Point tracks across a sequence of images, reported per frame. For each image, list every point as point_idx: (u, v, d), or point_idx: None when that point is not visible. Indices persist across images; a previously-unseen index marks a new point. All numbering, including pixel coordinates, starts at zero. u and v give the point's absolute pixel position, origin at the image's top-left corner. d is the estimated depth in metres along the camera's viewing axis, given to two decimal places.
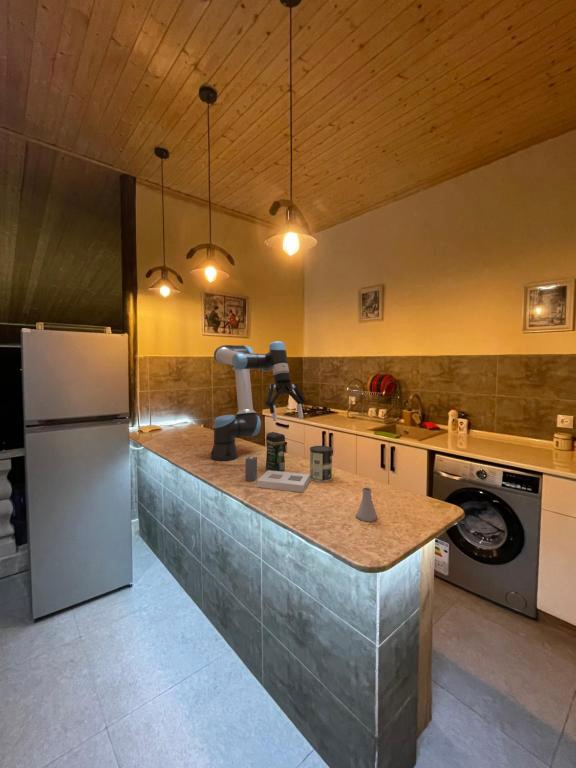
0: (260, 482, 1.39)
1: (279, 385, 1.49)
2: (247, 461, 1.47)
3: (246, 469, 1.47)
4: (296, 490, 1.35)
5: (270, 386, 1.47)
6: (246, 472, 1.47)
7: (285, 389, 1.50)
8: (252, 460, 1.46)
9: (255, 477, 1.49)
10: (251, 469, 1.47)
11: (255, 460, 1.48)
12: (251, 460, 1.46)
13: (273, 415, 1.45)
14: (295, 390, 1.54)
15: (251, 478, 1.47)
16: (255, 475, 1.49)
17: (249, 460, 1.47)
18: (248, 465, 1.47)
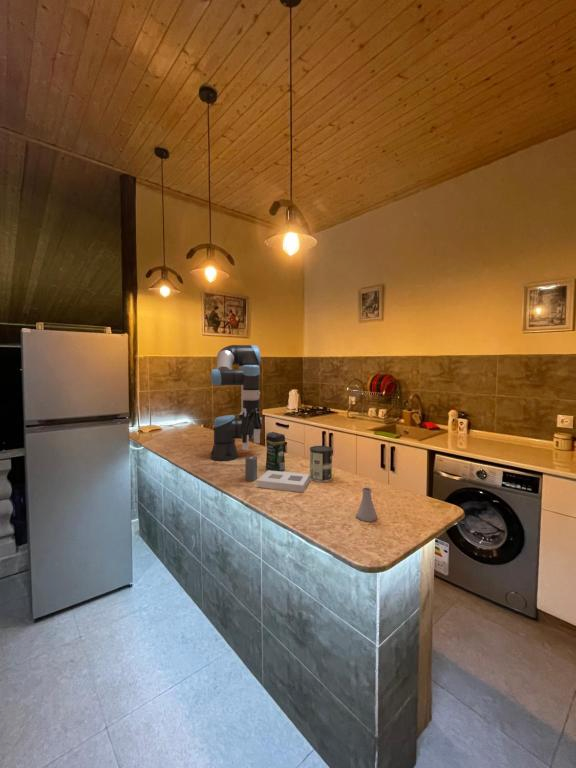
0: (260, 482, 1.39)
1: (251, 412, 1.44)
2: (247, 461, 1.47)
3: (246, 469, 1.47)
4: (296, 490, 1.35)
5: (246, 414, 1.40)
6: (246, 472, 1.47)
7: (253, 416, 1.47)
8: (252, 460, 1.46)
9: (255, 477, 1.49)
10: (251, 469, 1.47)
11: (255, 460, 1.48)
12: (251, 460, 1.46)
13: (244, 444, 1.41)
14: None
15: (251, 478, 1.47)
16: (255, 475, 1.49)
17: (249, 460, 1.47)
18: (248, 465, 1.47)
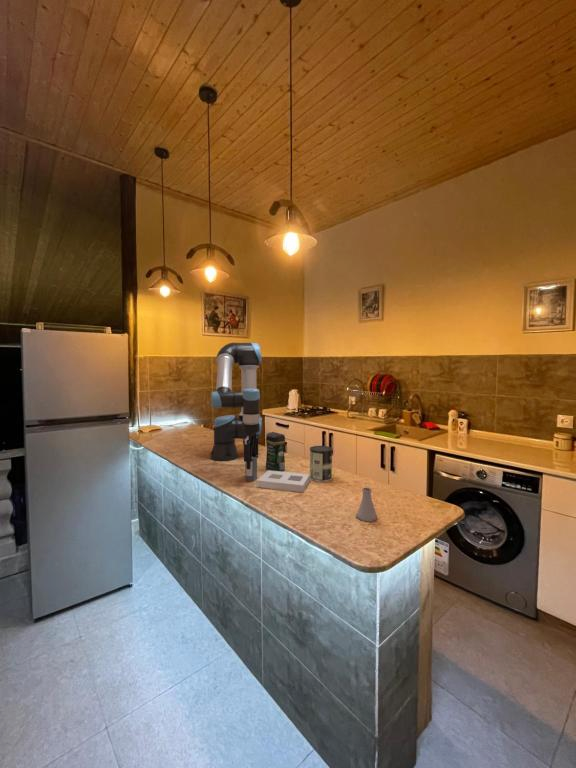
0: (260, 482, 1.39)
1: (251, 436, 1.45)
2: None
3: None
4: (296, 490, 1.35)
5: (246, 443, 1.42)
6: None
7: (253, 439, 1.48)
8: (252, 460, 1.46)
9: (255, 477, 1.49)
10: None
11: (255, 460, 1.48)
12: None
13: (248, 470, 1.46)
14: None
15: (251, 478, 1.47)
16: (255, 475, 1.49)
17: None
18: None
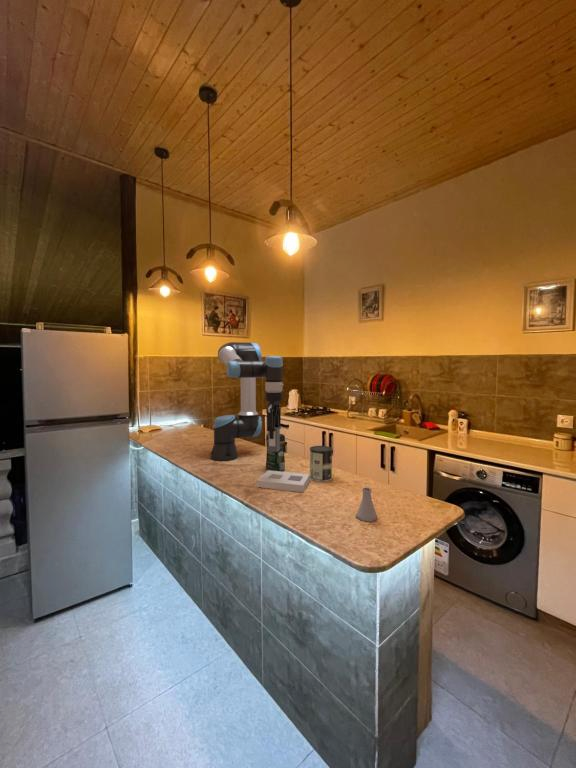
0: (260, 482, 1.39)
1: (274, 404, 1.40)
2: None
3: None
4: (296, 490, 1.35)
5: (270, 411, 1.37)
6: None
7: (276, 409, 1.43)
8: (275, 430, 1.41)
9: (278, 448, 1.43)
10: None
11: (278, 430, 1.43)
12: None
13: (271, 440, 1.41)
14: None
15: (274, 449, 1.42)
16: (278, 445, 1.43)
17: None
18: None
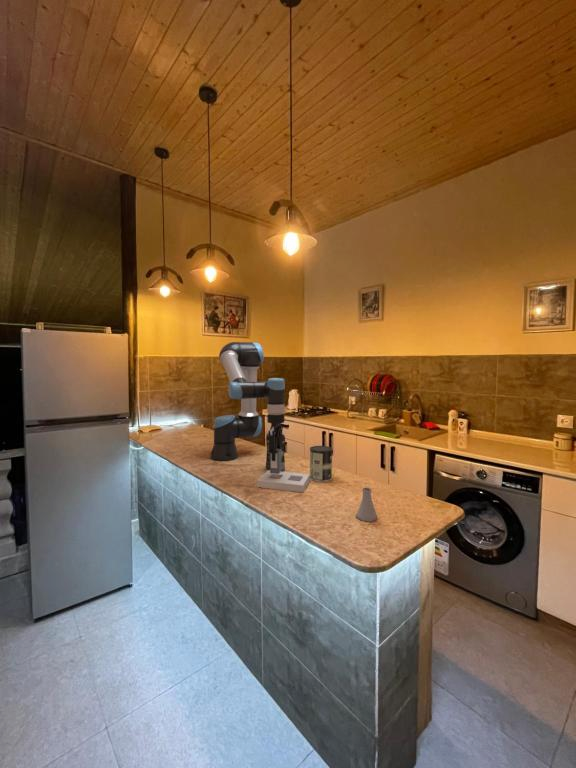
0: (260, 482, 1.39)
1: (276, 427, 1.41)
2: None
3: None
4: (296, 490, 1.35)
5: (272, 434, 1.37)
6: None
7: None
8: (277, 452, 1.42)
9: (280, 469, 1.44)
10: None
11: (280, 452, 1.44)
12: None
13: (273, 462, 1.42)
14: None
15: (276, 471, 1.42)
16: (280, 467, 1.44)
17: None
18: None
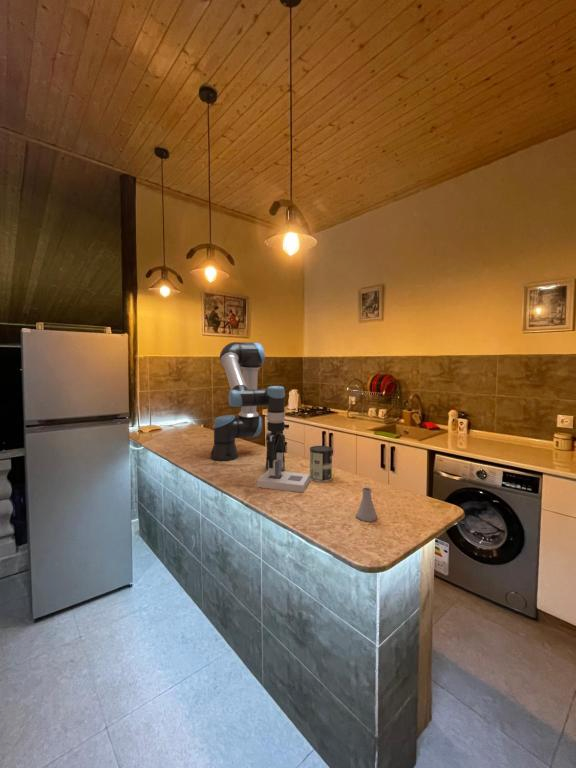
0: (260, 482, 1.39)
1: (276, 435, 1.41)
2: None
3: None
4: (296, 490, 1.35)
5: (272, 439, 1.37)
6: (271, 475, 1.43)
7: None
8: (277, 463, 1.42)
9: None
10: (276, 472, 1.43)
11: (280, 463, 1.44)
12: (276, 463, 1.42)
13: (270, 469, 1.39)
14: None
15: None
16: None
17: None
18: None
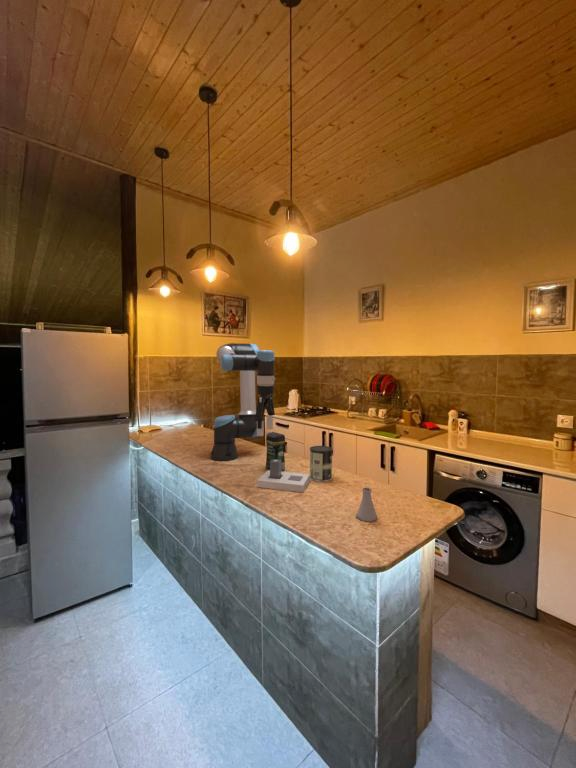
0: (260, 482, 1.39)
1: (266, 398, 1.43)
2: (272, 464, 1.43)
3: (271, 472, 1.43)
4: (296, 490, 1.35)
5: (261, 400, 1.39)
6: (271, 475, 1.43)
7: None
8: (277, 463, 1.42)
9: None
10: (276, 472, 1.43)
11: (280, 463, 1.44)
12: (276, 463, 1.42)
13: (259, 430, 1.40)
14: None
15: None
16: None
17: (274, 463, 1.43)
18: (273, 469, 1.43)
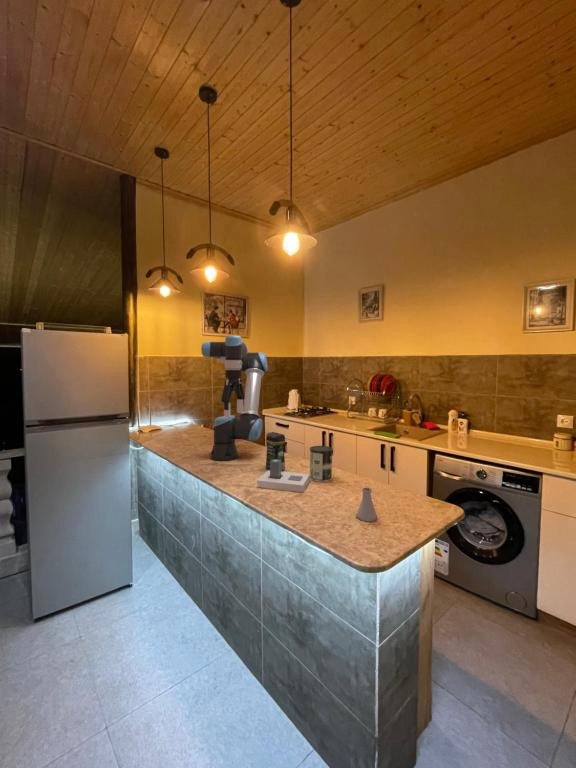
0: (260, 482, 1.39)
1: (233, 382, 1.49)
2: (272, 464, 1.43)
3: (271, 472, 1.43)
4: (296, 490, 1.35)
5: (228, 383, 1.45)
6: (271, 475, 1.43)
7: (236, 385, 1.52)
8: (277, 463, 1.42)
9: None
10: (276, 472, 1.43)
11: (280, 463, 1.44)
12: (276, 463, 1.42)
13: (226, 412, 1.46)
14: None
15: None
16: None
17: (274, 463, 1.43)
18: (273, 469, 1.43)
